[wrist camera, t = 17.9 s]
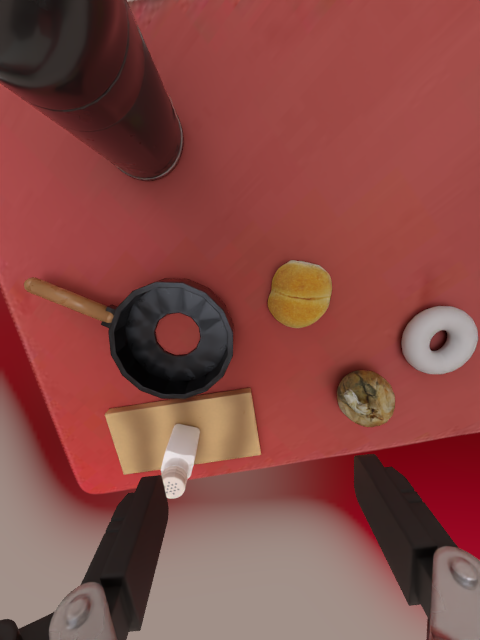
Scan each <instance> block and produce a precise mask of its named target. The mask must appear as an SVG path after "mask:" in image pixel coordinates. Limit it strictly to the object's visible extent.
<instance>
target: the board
mask: <svg viewBox="0 0 480 640" xmlns="http://www.w3.org/2000/svg"><path fill="white" fill-rule="evenodd" d="M105 417H106V420H107V423H108V426H109V429H110V433H111V436H112V439H113V442H114V445H115V448H116V451H117V454H118V458H119V461H120V464H121V467H122V470H123V473H124V475H125V474H132V473H139V472H146V471H153V470H160V469H161V466H162V462H163V458H164V454H165V451H166V448H167V445H168V442H169V439H170V436H171V433H172V430H173V428H174V426H175V425H176V424H182V425H187V426H192V427H196V428H198V429H199V430H200V435H199V441H198V446H197V451H196V456H195V461H194V464H201V463H208V462H215V461H222V460H229V459H236V458H242V457H249V456H256V455H261V450H260V443H259V437H258V431H257V425H256V419H255V412H254V406H253V400H252V394H251V388H245V389H238V390H232V391H225V392H218V393H212V394H205V395H198V396H192V397H189V398H186V399H172V400H165V401H158V402H152V403H145V404H138V405H132V406H125V407H118V408H112V409H109V410H108V411H107V412H106V414H105Z"/></svg>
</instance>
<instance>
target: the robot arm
mask: <svg viewBox="0 0 480 640" xmlns="http://www.w3.org/2000/svg"><path fill="white" fill-rule="evenodd" d="M0 83H1V84H2V85H4V86H5V87H6V88H8V89H9V90H11V91H12V92H13V93H15V94H16V95H18V96H19V97H21V98H22V99H23V100H25V101H26V102H28V103H29V104H30V105H32V106H33V107H35V108H36V109H37V110H39V111H40V112H42V113H43V114H44V115H46V116H47V117H49V118H50V119H51V120H53V121H54V122H56V123H57V124H59V125H60V126H61V127H63V128H64V129H66V130H67V131H68V132H70V133H71V134H73V135H74V136H75V137H77V138H78V139H80V140H81V141H82V142H84V143H85V144H87V145H88V146H89V147H91V148H92V149H93V150H95V151H96V152H98V153H99V154H100V155H102V156H103V157H105V158H106V159H107V160H109V161H110V162H111V163H113V164H114V165H116V166H117V167H118V168H119V169H120V170H121V171H122V172H124V173H125V174H127V175H128V176H130V177H132V178H135V179H138V180H143V181H153V180H157V179H160V178H162V177H164V176H166V175H167V174H169V173H170V172H171V171H172V170H173V169H174V168H175V166H176V165H177V163H178V162H179V159H180V157H181V154H182V150H183V131H182V127H181V123H180V121H179V118H178V116H177V114H176V112H175V109H173V108H174V106H173V107H172V105H173V104H171V102H172V101H171V102H170V99H171V98H170V99H169V97H168V95H167V92H166V90H165V88H164V85H163V83H162V81H161V78H160V76H159V74H158V72H157V69H156V67H155V65H154V62H153V60H152V58H151V55H150V53H149V51H148V48H147V46H146V44H145V41H144V39H143V37H142V34H141V32H140V30H139V27H138V25H137V23H136V21H135V19H134V16H133V14H132V12H131V9H130V7H129V5H128V3H127V0H0ZM169 96H170V95H169ZM354 488H355V493H356V497H357V500H358V502H359V505H360V507H361V509H362V511H363V513H364V515H365V517H366V519H367V521H368V523H369V525H370V527H371V529H372V531H373V533H374V535H375V537H376V539H377V541H378V543H379V545H380V547H381V549H382V551H383V553H384V556H385V557H386V560H387V561H388V564H389V566H390V568H391V570H392V572H393V574H394V576H395V578H396V580H397V582H398V584H399V586H400V588H401V590H402V592H403V594H404V596H405V598H406V600H407V602H408V604H409V605H419V604H421V606H422V607H423V609H424V611H425V613H426V615H427V617H428V621H427V639H426V640H480V561H479V560H478V559H477V558H475V557H474V556H472V555H471V554H469V553H468V552H466V551H463V550H461V549H459V548H458V547H457V545H456V544H455V543H454V542H453V540H452V539H451V538H450V536H449V535H448V534H447V532H446V531H445V530H444V528H443V527H442V526H441V524H440V523H439V522H438V521H437V519H436V518H435V516H434V515H433V514H432V512H431V511H430V510H429V508H428V507H427V506H426V504H425V503H424V502H422V499H421V498H420V496H419V495H418V494H417V492H415V491H414V488H413V487H412V486H411V485H410V483H409V482H408V480H407V479H406V478H405V477H404V476H403V475H402V474H400V473H399V472H398V471H397V470H395V469H394V468H393V467H384V466H383V465H382V463H381V462H380V460H379V459H378V458H377V456H376V455H375V454H367V455H358V456H355V457H354ZM167 521H168V502H167V497H166V492H165V488H164V483H163V479H162V476H161V475H159V476H149V477H142V478H141V480H140V482H139V484H138V487H137V489H136V491H135V493H128V494H127V495H126V496H125V497H124V499H123V500H122V501H121V502H120V503H119V504H118V506H117V508H116V510H115V512H114V514H113V516H112V519H111V522H110V523H109V525H108V527H107V530H106V533H105V534H104V536H103V538H102V540H101V542H100V545H99V547H98V549H97V551H96V554H95V555H94V558H93V560H92V562H91V564H90V566H89V568H88V571H87V573H86V575H85V577H84V579H83V581H82V583H81V585H80V586H79V587H77V588H75V589H74V590H73V591H71V592H70V593H69V594H68V595H67V596H66V597H65V598H64V599H63V600H62V602H61V603H60V605H59V606H58V607H57V609H56V611H55V612H53V613H51V614H49V615H48V616H45V617H43V618H41V619H39V620H37V621H35V622H33V623H30V624H28V625H26V626H24V627H22V628H20V629H18V627H17V625H16V623H15V622H14V621H12V620H9V619H4V620H0V640H126V639H127V635H128V632H130V631H140V630H141V626H142V622H143V618H144V613H145V609H146V605H147V601H148V597H149V593H150V589H151V585H152V581H153V577H154V573H155V569H156V565H157V561H158V557H159V553H160V549H161V545H162V541H163V537H164V533H165V529H166V525H167Z"/></svg>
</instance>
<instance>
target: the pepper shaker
mask: <svg viewBox="0 0 480 640" xmlns="http://www.w3.org/2000/svg"><path fill="white" fill-rule="evenodd" d="M199 435H200V430H199V429H198V428H196V427H192V426H187V425H182V424H176V425H175V426H174V428H173V430H172V433H171V436H170V439H169V442H168V445H167V448H166V451H165V454H164V458H163V462H162V466H161V472H162V475H161V476H162V479H163V483H164V488H165V492H166V497H167V498H177V497H179V496H181V495H182V494H183V492H184V491H185V487H186V482H187V479H188V478H189V477H190V476H191V472H192V469H193V465H194V461H195V456H196V451H197V446H198V441H199Z"/></svg>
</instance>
